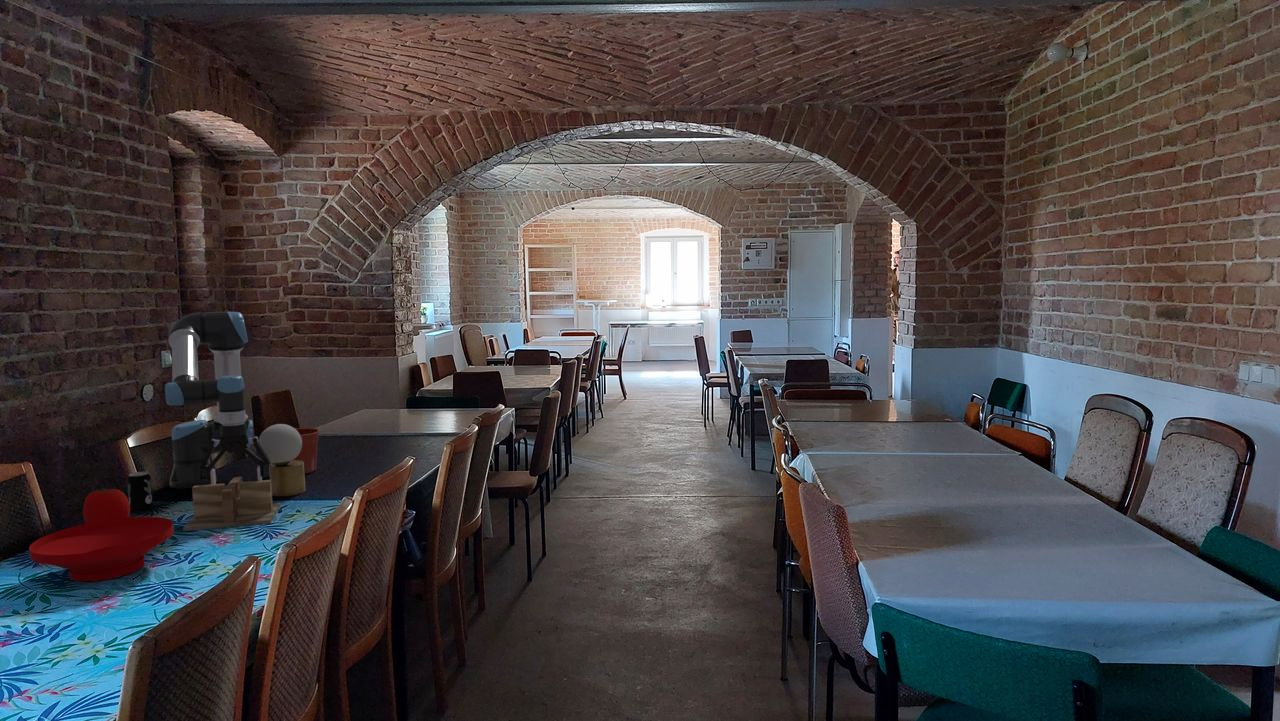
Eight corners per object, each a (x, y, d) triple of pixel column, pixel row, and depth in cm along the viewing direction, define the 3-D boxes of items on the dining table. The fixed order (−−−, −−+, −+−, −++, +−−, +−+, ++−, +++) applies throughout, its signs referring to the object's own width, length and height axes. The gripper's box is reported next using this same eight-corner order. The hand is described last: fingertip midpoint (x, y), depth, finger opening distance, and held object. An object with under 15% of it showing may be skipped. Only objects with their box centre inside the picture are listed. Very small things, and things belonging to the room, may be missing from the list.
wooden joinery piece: (199, 512, 251) (197, 479, 250) (280, 505, 258) (278, 473, 257) (183, 531, 232) (180, 495, 231) (270, 522, 239) (268, 488, 238)
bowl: (202, 557, 209) (199, 521, 208) (90, 600, 180) (86, 559, 179) (120, 546, 218) (118, 512, 218) (2, 586, 190) (-2, 546, 189)
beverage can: (141, 512, 252) (138, 476, 251) (124, 511, 254) (121, 475, 253) (158, 506, 259) (155, 471, 258) (141, 505, 260) (138, 470, 259)
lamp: (283, 501, 263) (279, 428, 261) (251, 498, 268) (246, 426, 265) (315, 489, 278) (312, 421, 275) (284, 487, 282) (280, 419, 280)
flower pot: (311, 476, 298) (309, 435, 296) (269, 476, 298) (266, 436, 297) (329, 466, 314) (326, 427, 313) (289, 467, 315) (286, 428, 313)
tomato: (74, 537, 227) (70, 490, 226) (112, 526, 238) (108, 481, 236) (104, 541, 223) (100, 493, 222) (141, 529, 233) (138, 484, 232)
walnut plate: (235, 507, 253) (233, 477, 252) (244, 506, 254) (242, 476, 253) (223, 523, 236) (221, 491, 235) (232, 522, 237) (230, 490, 236)
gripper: (186, 428, 241) (191, 494, 244) (273, 423, 249) (277, 487, 251) (192, 423, 249) (197, 488, 251) (277, 419, 256) (280, 481, 258)
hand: (237, 488), depth 251 cm, fingers open, 13 cm apart
